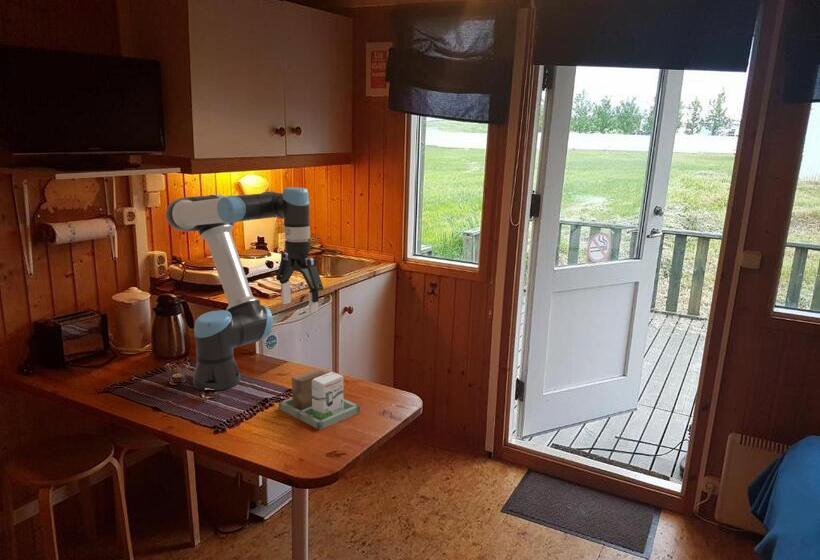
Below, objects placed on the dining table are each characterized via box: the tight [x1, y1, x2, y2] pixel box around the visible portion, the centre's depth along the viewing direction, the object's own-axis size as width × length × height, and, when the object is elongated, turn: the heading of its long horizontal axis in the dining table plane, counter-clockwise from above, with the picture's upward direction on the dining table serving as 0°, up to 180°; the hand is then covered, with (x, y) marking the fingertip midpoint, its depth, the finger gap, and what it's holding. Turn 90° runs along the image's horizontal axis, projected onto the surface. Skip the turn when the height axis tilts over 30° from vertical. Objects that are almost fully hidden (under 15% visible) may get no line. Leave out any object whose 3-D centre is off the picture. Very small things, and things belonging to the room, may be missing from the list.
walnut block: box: [291, 368, 327, 411], centre depth 181 cm, size 5×9×10 cm, turn 137°
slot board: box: [278, 397, 361, 431], centre depth 180 cm, size 19×15×3 cm
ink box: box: [312, 371, 344, 421], centre depth 175 cm, size 9×5×12 cm, turn 142°
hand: (299, 307), depth 186 cm, fingers open, 13 cm apart
